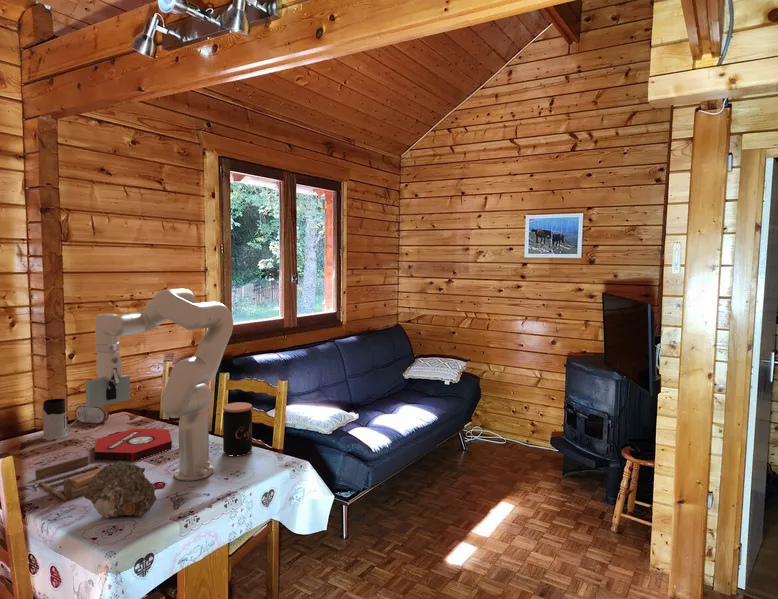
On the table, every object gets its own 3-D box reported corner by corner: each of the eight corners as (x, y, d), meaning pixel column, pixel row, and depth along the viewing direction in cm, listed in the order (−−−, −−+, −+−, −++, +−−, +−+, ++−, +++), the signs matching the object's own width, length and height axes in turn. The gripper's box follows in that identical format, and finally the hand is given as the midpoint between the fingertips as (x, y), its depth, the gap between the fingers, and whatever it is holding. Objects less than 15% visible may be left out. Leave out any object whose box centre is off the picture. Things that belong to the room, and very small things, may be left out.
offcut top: (108, 477, 166) (108, 470, 166) (77, 488, 157) (77, 482, 157) (99, 474, 168) (99, 468, 168) (69, 486, 159) (69, 479, 159)
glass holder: (43, 435, 210) (42, 399, 209) (83, 430, 217) (82, 395, 216) (40, 441, 202) (39, 404, 201) (82, 436, 209) (81, 400, 208)
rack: (124, 481, 167) (124, 463, 167) (64, 500, 152) (63, 481, 152) (90, 463, 181) (89, 446, 181) (32, 479, 167) (31, 462, 166)
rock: (99, 465, 137) (133, 437, 152) (72, 497, 141) (107, 467, 156) (152, 508, 139) (180, 476, 153) (123, 539, 143) (153, 505, 157)
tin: (109, 422, 227) (109, 404, 227) (104, 425, 224) (104, 406, 224) (79, 421, 229) (78, 402, 229) (74, 423, 226) (73, 404, 226)
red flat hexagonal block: (74, 460, 184) (155, 463, 184) (74, 451, 184) (154, 453, 183) (116, 436, 211) (186, 438, 210) (115, 428, 211) (186, 429, 210)
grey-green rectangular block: (130, 399, 187) (129, 375, 187) (90, 407, 176) (89, 382, 176) (126, 398, 189) (125, 374, 189) (86, 406, 178) (85, 381, 177)
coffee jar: (236, 459, 187) (236, 411, 186) (217, 453, 193) (216, 407, 192) (258, 450, 196) (258, 405, 195) (238, 445, 202) (238, 400, 201)
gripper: (129, 349, 180) (130, 400, 181) (107, 344, 189) (108, 393, 190) (108, 351, 174) (109, 404, 175) (86, 347, 183) (87, 397, 184)
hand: (108, 398), depth 183 cm, fingers closed on grey-green rectangular block, 3 cm apart
